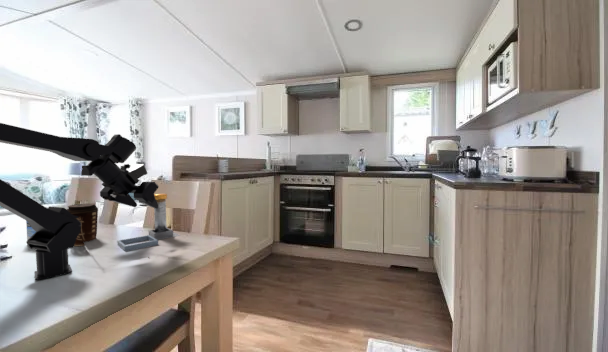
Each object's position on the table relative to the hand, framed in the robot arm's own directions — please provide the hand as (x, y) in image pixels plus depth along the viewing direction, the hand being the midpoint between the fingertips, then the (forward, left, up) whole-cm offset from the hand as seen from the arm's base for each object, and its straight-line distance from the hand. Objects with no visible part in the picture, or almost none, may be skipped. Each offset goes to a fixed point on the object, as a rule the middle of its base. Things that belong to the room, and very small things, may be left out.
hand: (146, 206), depth 91 cm
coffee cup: (+16, +15, -12) cm, 25 cm away
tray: (-3, +4, -12) cm, 13 cm away
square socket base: (+3, -6, -12) cm, 14 cm away
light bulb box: (+26, +23, -12) cm, 37 cm away
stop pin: (+2, -5, -11) cm, 12 cm away
